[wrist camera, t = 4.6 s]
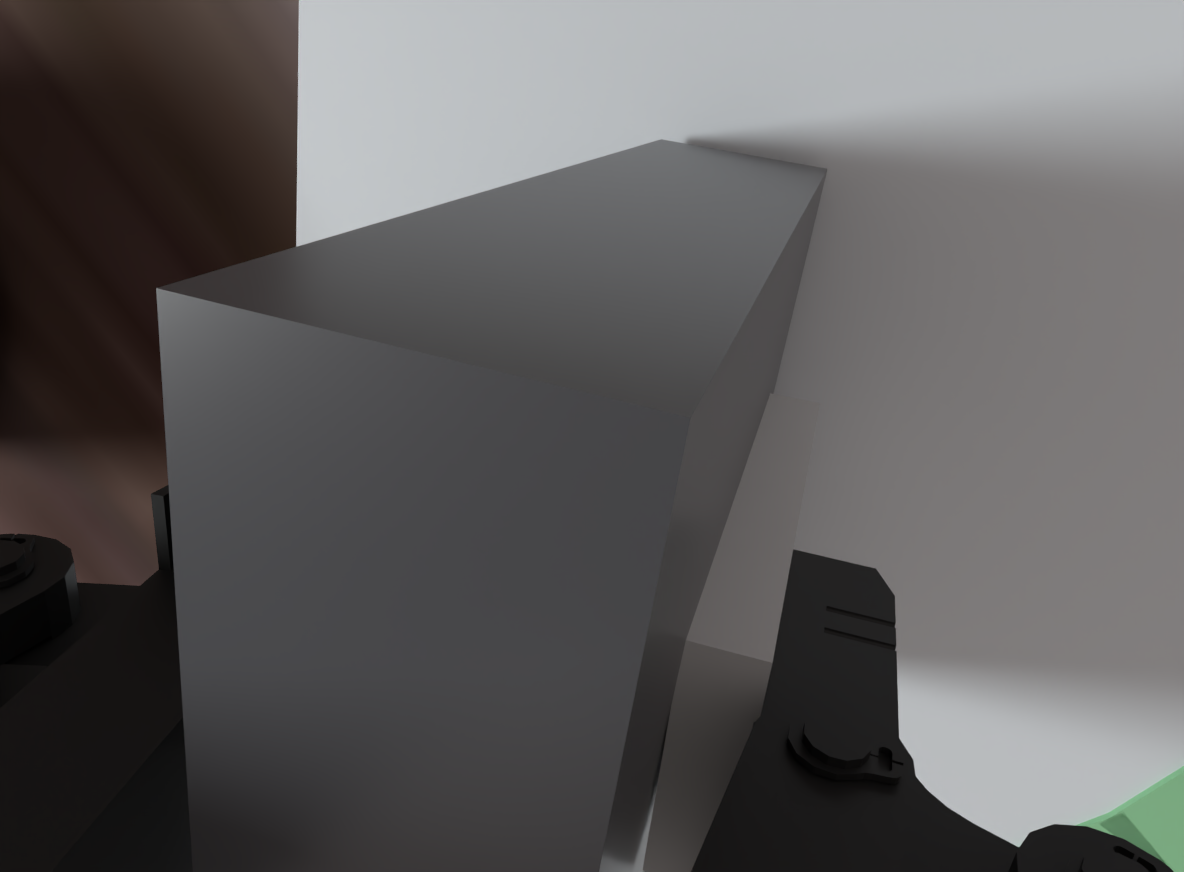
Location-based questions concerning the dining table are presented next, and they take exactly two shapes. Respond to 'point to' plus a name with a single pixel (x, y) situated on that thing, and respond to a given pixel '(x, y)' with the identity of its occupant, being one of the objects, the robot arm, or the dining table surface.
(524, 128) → the board
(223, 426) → the gray bar
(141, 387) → the dining table surface
